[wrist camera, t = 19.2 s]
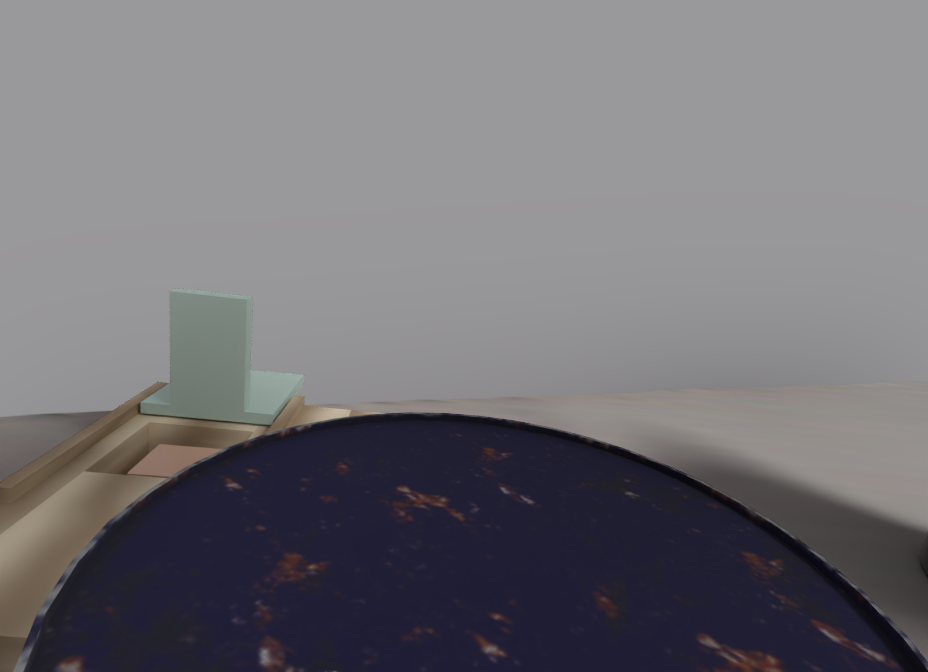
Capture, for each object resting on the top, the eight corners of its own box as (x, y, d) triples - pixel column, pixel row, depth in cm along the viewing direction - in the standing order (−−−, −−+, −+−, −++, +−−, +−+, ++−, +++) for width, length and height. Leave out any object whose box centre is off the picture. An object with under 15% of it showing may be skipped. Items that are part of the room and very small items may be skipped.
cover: (303, 383, 47) (308, 283, 45) (272, 425, 38) (277, 302, 36) (196, 373, 47) (197, 271, 45) (140, 412, 38) (138, 287, 36)
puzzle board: (519, 478, 45) (528, 417, 44) (603, 769, 22) (628, 658, 21) (146, 445, 43) (145, 380, 42) (-195, 728, 20) (-220, 602, 19)
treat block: (221, 503, 37) (222, 449, 36) (196, 538, 33) (197, 478, 32) (160, 498, 37) (159, 444, 36) (128, 533, 33) (126, 473, 32)
